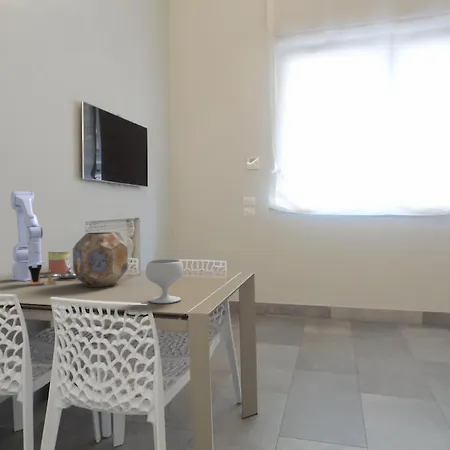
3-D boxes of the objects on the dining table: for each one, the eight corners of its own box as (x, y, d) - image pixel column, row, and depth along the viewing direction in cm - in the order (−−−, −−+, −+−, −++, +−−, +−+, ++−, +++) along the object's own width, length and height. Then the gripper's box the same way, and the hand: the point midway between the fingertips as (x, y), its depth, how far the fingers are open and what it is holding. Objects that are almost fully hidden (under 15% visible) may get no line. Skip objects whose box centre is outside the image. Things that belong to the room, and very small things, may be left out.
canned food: (65, 273, 234) (65, 251, 234) (45, 274, 234) (44, 252, 234) (73, 270, 245) (72, 249, 245) (53, 271, 246) (53, 250, 245)
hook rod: (30, 284, 200) (30, 272, 199) (31, 283, 203) (30, 271, 203) (61, 282, 205) (61, 271, 204) (61, 281, 208) (60, 269, 208)
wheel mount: (52, 279, 214) (52, 278, 214) (68, 276, 225) (68, 275, 225) (69, 281, 210) (69, 279, 210) (85, 277, 220) (85, 276, 220)
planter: (63, 288, 191) (61, 234, 190) (97, 279, 214) (96, 231, 213) (105, 290, 184) (104, 235, 183) (136, 281, 207) (135, 231, 206)
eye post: (43, 285, 199) (43, 272, 199) (44, 282, 208) (43, 269, 208) (55, 284, 201) (55, 271, 201) (55, 281, 210) (55, 268, 210)
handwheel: (75, 278, 212) (74, 270, 212) (54, 278, 212) (54, 270, 212) (82, 275, 222) (81, 267, 222) (62, 275, 222) (62, 267, 222)
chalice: (138, 303, 159) (138, 262, 158) (158, 296, 172) (157, 258, 171) (172, 306, 154) (172, 264, 153) (189, 298, 167) (189, 259, 166)
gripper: (43, 253, 196) (44, 282, 197) (44, 250, 210) (45, 278, 210) (26, 254, 194) (27, 284, 194) (28, 251, 207) (29, 279, 208)
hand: (35, 281), depth 202 cm, fingers closed on hook rod, 4 cm apart
